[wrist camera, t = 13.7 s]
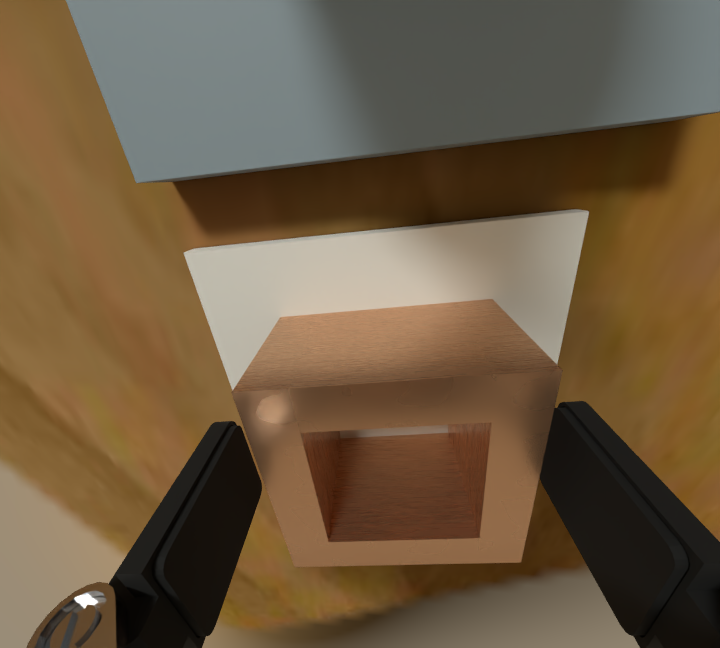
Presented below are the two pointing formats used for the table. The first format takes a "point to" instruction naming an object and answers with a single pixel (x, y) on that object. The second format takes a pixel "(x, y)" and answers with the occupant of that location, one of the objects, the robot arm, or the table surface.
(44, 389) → the table surface
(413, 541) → the copper link
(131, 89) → the post stand
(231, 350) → the white mat
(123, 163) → the table surface
